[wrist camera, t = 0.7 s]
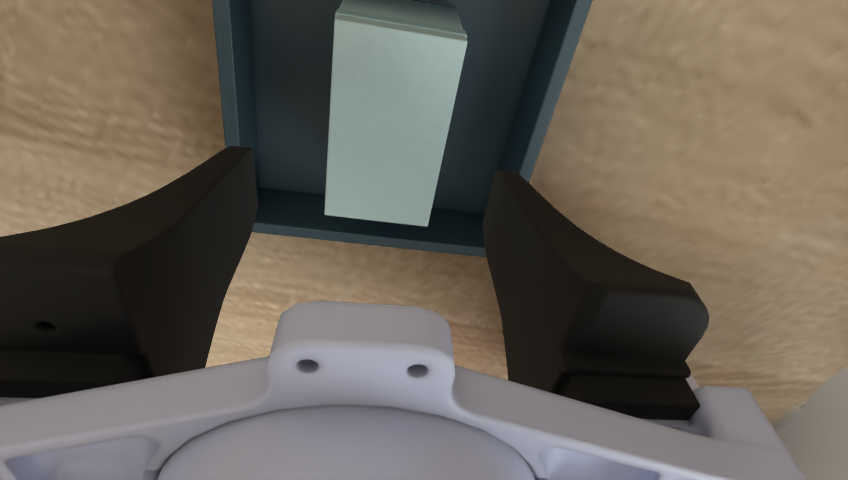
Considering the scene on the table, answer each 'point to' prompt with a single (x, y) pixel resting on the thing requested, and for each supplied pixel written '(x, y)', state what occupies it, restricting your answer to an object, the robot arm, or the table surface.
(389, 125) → the case
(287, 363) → the robot arm
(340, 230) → the tray
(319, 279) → the table surface
